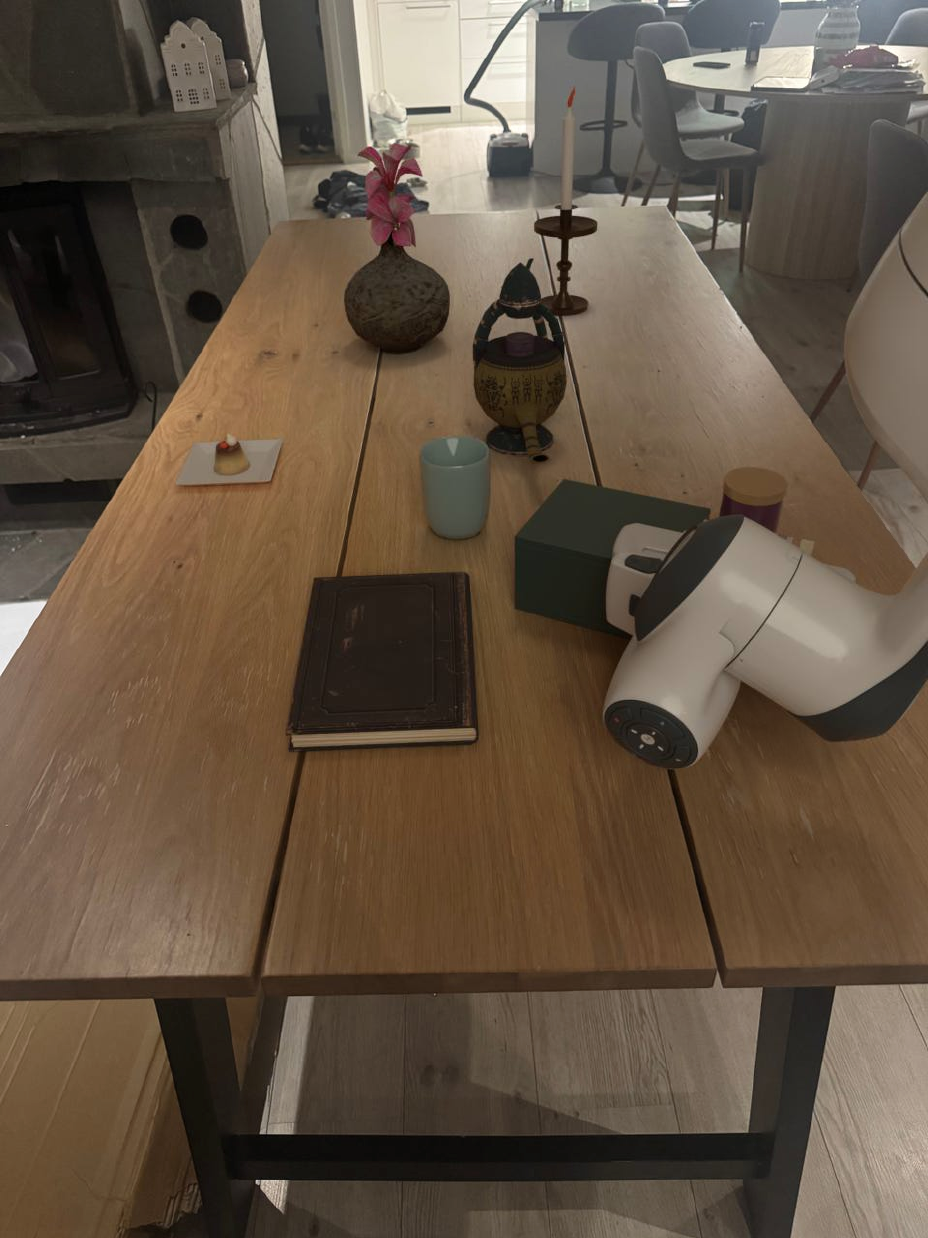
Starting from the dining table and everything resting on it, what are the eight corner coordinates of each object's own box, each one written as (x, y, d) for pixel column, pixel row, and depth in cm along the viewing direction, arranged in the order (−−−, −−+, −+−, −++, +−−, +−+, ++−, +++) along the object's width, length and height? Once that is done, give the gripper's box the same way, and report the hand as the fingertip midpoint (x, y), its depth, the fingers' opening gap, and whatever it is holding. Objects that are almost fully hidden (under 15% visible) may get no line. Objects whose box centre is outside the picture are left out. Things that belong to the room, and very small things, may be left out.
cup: (492, 547, 103) (490, 466, 97) (422, 549, 103) (416, 468, 97) (491, 512, 109) (490, 434, 103) (425, 513, 109) (420, 435, 103)
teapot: (551, 410, 132) (556, 239, 118) (589, 494, 112) (600, 300, 98) (467, 416, 131) (462, 245, 117) (490, 502, 111) (487, 308, 97)
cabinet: (700, 580, 97) (711, 508, 91) (664, 648, 88) (674, 573, 82) (561, 547, 102) (563, 478, 97) (514, 608, 94) (514, 536, 88)
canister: (768, 593, 90) (793, 473, 82) (756, 624, 86) (781, 500, 78) (713, 580, 92) (732, 462, 84) (698, 610, 88) (717, 488, 80)
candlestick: (604, 304, 168) (617, 83, 147) (571, 321, 161) (580, 92, 141) (555, 294, 174) (561, 79, 153) (520, 310, 167) (522, 87, 146)
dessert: (175, 492, 116) (167, 457, 113) (195, 449, 125) (188, 416, 122) (271, 488, 116) (265, 453, 113) (284, 445, 125) (279, 412, 122)
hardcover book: (289, 752, 78) (285, 732, 77) (316, 595, 96) (314, 577, 95) (478, 744, 78) (478, 724, 77) (470, 589, 96) (469, 570, 95)
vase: (367, 372, 145) (347, 163, 128) (336, 337, 159) (313, 143, 141) (466, 354, 150) (460, 150, 133) (427, 321, 163) (417, 132, 146)
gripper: (850, 616, 69) (875, 529, 79) (592, 555, 77) (644, 483, 87) (832, 680, 73) (858, 589, 83) (588, 616, 81) (638, 540, 91)
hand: (747, 534), depth 85 cm, fingers closed on canister, 5 cm apart
